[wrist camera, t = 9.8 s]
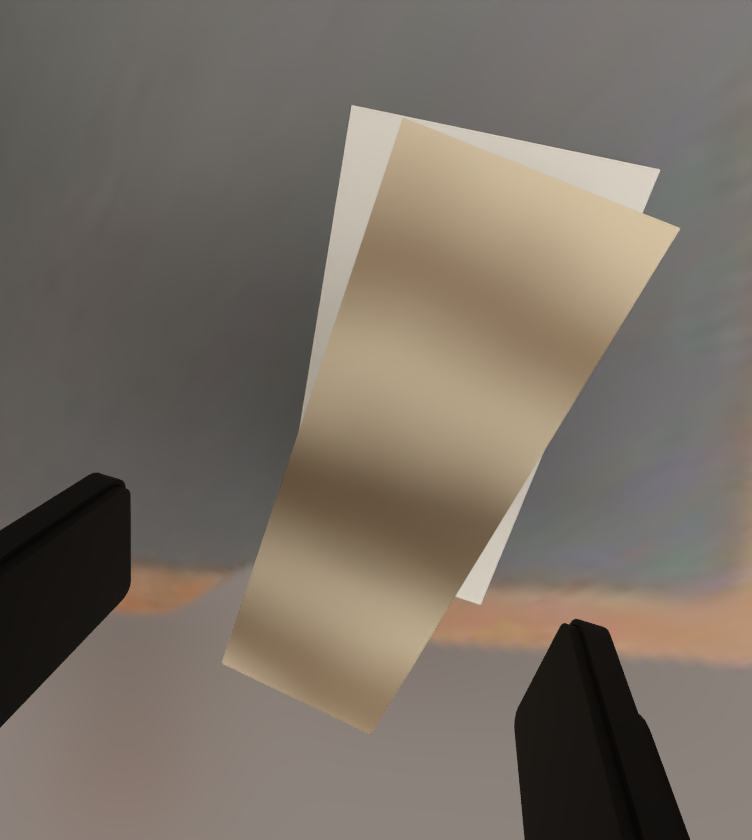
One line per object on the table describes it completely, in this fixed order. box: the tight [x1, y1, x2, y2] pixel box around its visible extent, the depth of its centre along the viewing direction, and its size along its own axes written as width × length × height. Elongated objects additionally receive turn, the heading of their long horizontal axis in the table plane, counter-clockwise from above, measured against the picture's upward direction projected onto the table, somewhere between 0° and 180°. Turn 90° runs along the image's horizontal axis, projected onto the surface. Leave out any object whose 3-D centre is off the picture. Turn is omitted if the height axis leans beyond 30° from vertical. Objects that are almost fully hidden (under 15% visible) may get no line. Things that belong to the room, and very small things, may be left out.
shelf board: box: [222, 118, 680, 735], centre depth 14 cm, size 18×6×3 cm, turn 159°
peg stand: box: [299, 105, 660, 605], centre depth 20 cm, size 12×22×9 cm, turn 167°
